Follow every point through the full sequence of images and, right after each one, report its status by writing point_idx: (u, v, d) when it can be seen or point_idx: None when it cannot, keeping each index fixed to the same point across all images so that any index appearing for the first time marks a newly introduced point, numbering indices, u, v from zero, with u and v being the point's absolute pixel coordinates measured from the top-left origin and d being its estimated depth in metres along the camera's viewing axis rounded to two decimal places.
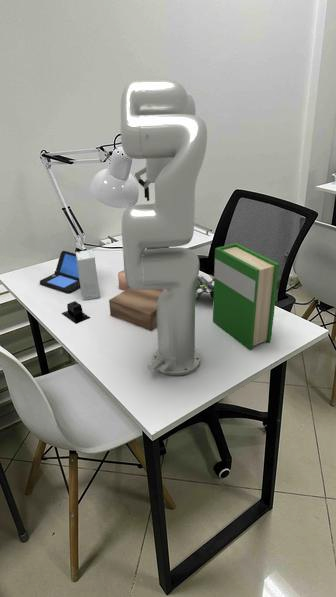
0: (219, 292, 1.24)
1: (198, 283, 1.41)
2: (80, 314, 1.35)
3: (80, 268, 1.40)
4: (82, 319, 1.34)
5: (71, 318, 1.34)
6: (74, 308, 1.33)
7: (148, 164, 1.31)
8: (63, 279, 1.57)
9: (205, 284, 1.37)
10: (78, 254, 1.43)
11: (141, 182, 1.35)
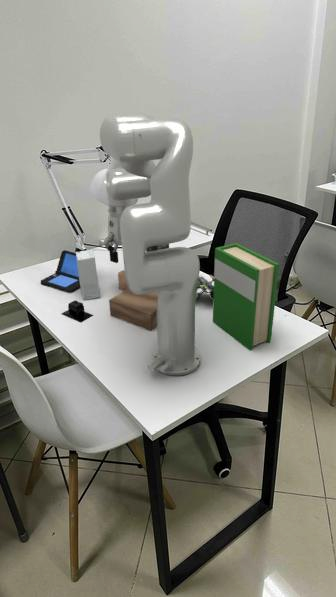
0: (219, 292, 1.24)
1: (198, 283, 1.41)
2: (82, 312, 1.36)
3: (80, 268, 1.40)
4: (85, 317, 1.35)
5: (74, 317, 1.35)
6: (77, 307, 1.33)
7: (119, 230, 1.38)
8: (64, 279, 1.57)
9: (205, 284, 1.37)
10: (78, 254, 1.43)
11: (111, 248, 1.40)
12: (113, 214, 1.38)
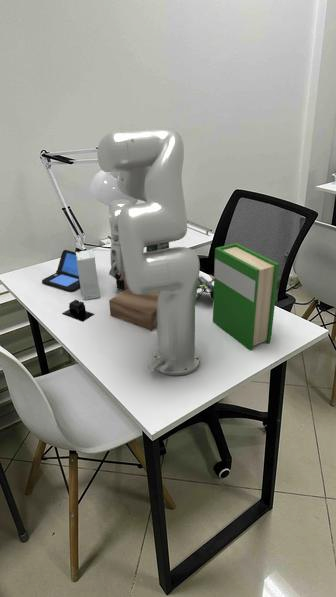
0: (219, 292, 1.24)
1: (198, 283, 1.41)
2: (83, 312, 1.36)
3: (80, 268, 1.40)
4: (87, 316, 1.35)
5: (75, 317, 1.35)
6: (78, 306, 1.34)
7: (121, 258, 1.43)
8: (65, 278, 1.58)
9: (205, 284, 1.37)
10: (78, 254, 1.43)
11: (117, 276, 1.46)
12: (115, 243, 1.42)
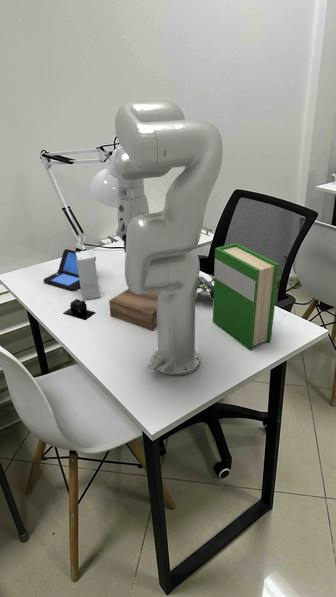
0: (219, 292, 1.24)
1: (198, 283, 1.41)
2: (85, 311, 1.37)
3: (80, 268, 1.40)
4: (89, 315, 1.36)
5: (77, 316, 1.35)
6: (80, 305, 1.34)
7: (130, 215, 1.24)
8: (67, 277, 1.58)
9: (205, 284, 1.37)
10: (78, 254, 1.43)
11: (126, 237, 1.28)
12: (123, 197, 1.24)
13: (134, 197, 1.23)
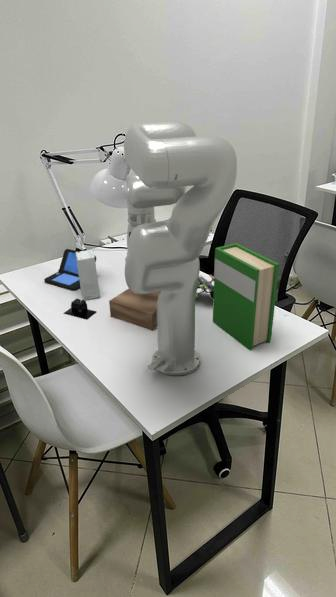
0: (219, 292, 1.24)
1: (198, 283, 1.41)
2: (86, 310, 1.37)
3: (80, 268, 1.40)
4: (90, 314, 1.36)
5: (78, 315, 1.36)
6: (81, 305, 1.35)
7: None
8: (67, 277, 1.58)
9: (205, 284, 1.37)
10: (78, 254, 1.43)
11: None
12: (133, 223, 1.20)
13: (144, 224, 1.20)
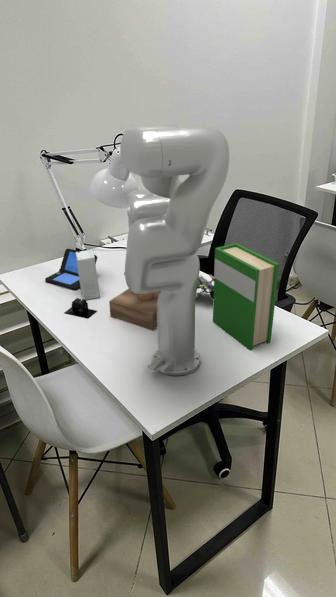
0: (219, 292, 1.24)
1: (198, 283, 1.41)
2: (86, 309, 1.37)
3: (80, 268, 1.40)
4: (90, 313, 1.37)
5: (79, 315, 1.36)
6: (82, 304, 1.35)
7: None
8: (68, 277, 1.59)
9: (205, 284, 1.37)
10: (78, 254, 1.43)
11: None
12: None
13: None
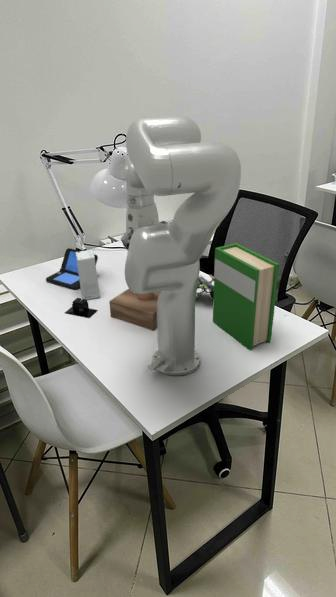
0: (219, 292, 1.24)
1: (198, 283, 1.41)
2: (87, 309, 1.38)
3: (80, 268, 1.40)
4: (91, 313, 1.37)
5: (80, 314, 1.36)
6: (82, 303, 1.35)
7: (139, 224, 1.18)
8: (69, 276, 1.59)
9: (205, 284, 1.37)
10: (78, 254, 1.43)
11: None
12: (132, 206, 1.18)
13: (144, 205, 1.17)
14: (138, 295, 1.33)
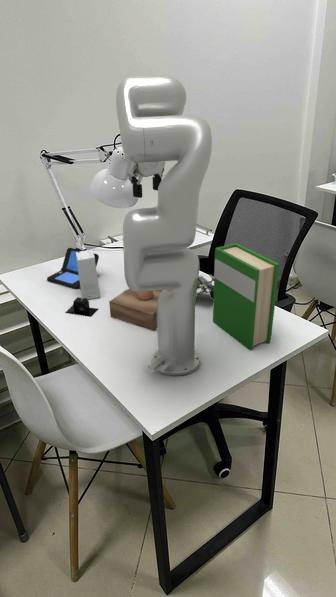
0: (219, 292, 1.24)
1: (198, 283, 1.41)
2: (88, 308, 1.38)
3: (80, 268, 1.40)
4: (92, 311, 1.38)
5: (81, 313, 1.37)
6: (84, 303, 1.36)
7: None
8: (70, 276, 1.59)
9: (205, 284, 1.37)
10: (78, 254, 1.43)
11: (135, 179, 1.25)
12: None
13: None
14: (140, 296, 1.32)
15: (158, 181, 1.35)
